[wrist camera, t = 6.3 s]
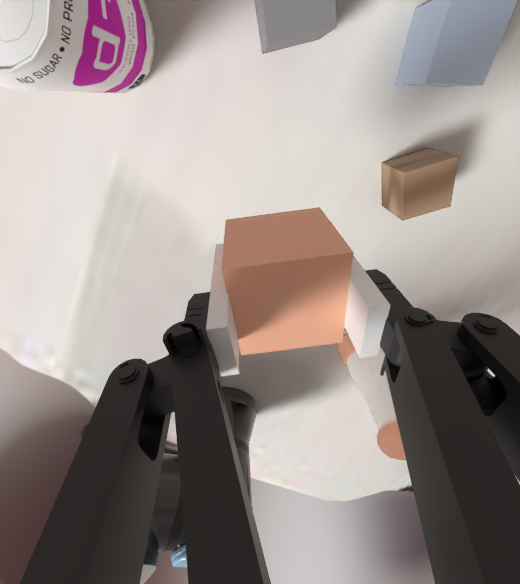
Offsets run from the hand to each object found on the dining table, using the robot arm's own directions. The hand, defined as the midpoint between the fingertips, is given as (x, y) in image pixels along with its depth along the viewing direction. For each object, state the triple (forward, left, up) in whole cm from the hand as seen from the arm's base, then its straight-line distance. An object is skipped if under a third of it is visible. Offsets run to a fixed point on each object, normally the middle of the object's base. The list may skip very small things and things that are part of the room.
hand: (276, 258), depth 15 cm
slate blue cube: (+9, -17, -18) cm, 26 cm away
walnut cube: (-2, -17, -18) cm, 25 cm away
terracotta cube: (0, 0, 0) cm, 0 cm away
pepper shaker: (-30, -15, -18) cm, 38 cm away
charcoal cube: (+13, -4, -18) cm, 22 cm away
